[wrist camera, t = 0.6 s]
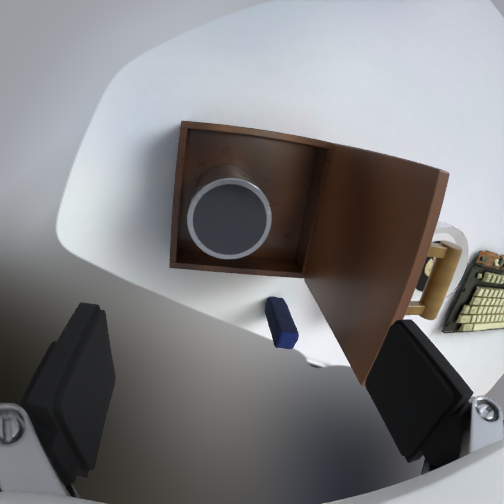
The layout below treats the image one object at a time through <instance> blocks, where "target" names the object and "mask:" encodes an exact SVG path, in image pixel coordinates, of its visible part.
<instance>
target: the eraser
mask: <svg viewBox="0 0 504 504" xmlns="http://www.w3.org/2000/svg"><path fill="white" fill-rule="evenodd" d="M265 314H266V317H267V321H268V325H269V327H270V331H271V334H272V338H273V342H274V345H275V347H276V348H285V349H292V348H293V347H294V345H295V343H296V342H297V340H298V337H299V334H298V331H297V328H296V326H295V324H294V321H293V319H292V317H291V314H290V311H289V309H288V306H287V304H286V302H285V301H284V299H282V298H277V297H270V298H269V299H268V300H267V302H266V307H265Z"/></svg>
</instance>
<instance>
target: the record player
mask: <svg viewBox="0 0 504 504" xmlns="http://www.w3.org/2000/svg"><path fill="white" fill-rule="evenodd" d="M442 240H445V241H449V242H452V243H454V244H457V245H458V246H460V247H461V248H462V249H463V251H462V254H461V257H460V260H459V262H458V265H457V268H456V271H455V273H454V276H453V279H452V281H451V284H450V286H449V289H448V291H447V294H446V296H445V298H446V297H447V296H448V295H449V294H450V293H451V292H452V291H453V290H454V289H455V288H456V286H457V285H458V283H459V282H460V280H461V278H462V276H463V274H464V272H465V269H466V266H467V261H468V253H469V249H468V242H467V239H466V237H465V235H464V233H463V232H462V231H461V230H460V229H458V228H457V227H455V226H453V225H451V224H448V223H437V225H436V229H435V232H434V236H433V239H432V243H438V244H440V242H441V241H442ZM434 260H435V257H426V260H425V263H424V266H423V269H422V272H421V275H420V277H419V280H418V283H417V286H416V288H415V291H414V293H413V296H412V298H411V301H419V300H420V298H421V295H422V293H423V290H424V288H425V285H426V282H427V280H428V277H429V274H430V272H431V269H432V266H433V263H434ZM445 298H444V299H445Z"/></svg>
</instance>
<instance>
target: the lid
mask: <svg viewBox="0 0 504 504" xmlns="http://www.w3.org/2000/svg"><path fill="white" fill-rule="evenodd" d="M448 178H449V173H448V172H446V171H444V170H441V169H438V168H434V167H431V166H428V165H424V164H421V163H417V162H413V161H410V160H406V159H402V158H398V157H394V156H390V155H386V154H382V153H378V152H374V151H369V150H365V149H360V148H355V147H351V146H346V145H341V144H335V143H334V144H333V148H332V153H331V159H330V164H329V170H328V175H327V180H326V185H325V190H324V195H323V200H322V205H321V209H320V214H319V219H318V223H317V228H316V233H315V237H314V241H313V246H312V250H311V255H310V259H309V263H308V267H307V271H306V276H305V280H304V281H305V283H306V284H307V286H308V288H309V290H310V292H311V293H312V295H313V297H314V299H315V301H316V302H317V304H318V306H319V308H320V310H321V312H322V313H323V315H324V317H325V319H326V321H327V323H328V324H329V326H330V328H331V330H332V332H333V334H334V335H335V337H336V339H337V341H338V343H339V345H340V347H341V348H342V350H343V352H344V354H345V356H346V358H347V360H348V362H349V363H350V365H351V367H352V369H353V371H354V373H355V375H356V377H357V379H358V381H359V383H360V384H361V386H365V381H366V378H367V376H368V374H369V372H370V370H371V368H372V366H373V363H374V361H375V359H376V357H377V355H378V353H379V351H380V349H381V346H382V344H383V342H384V340H385V337H386V335H387V333H388V330H389V328H390V326H391V325H392V324H394V322H395V321H396V320H403V318H404V315H419V316H421V317H423V318H425V319H428V320H434V319H435V318H436V317H437V314H438V312H439V310H440V308H441V305H442V303H443V301H444V298H445V296H446V294H447V291H448V289H449V286H450V284H451V281H452V279H453V276H454V273H455V271H456V268H457V265H458V262H459V260H460V257H461V254H462V251H463V249H462V248H461V247H460V246H458V245H457V244H454V243H452V242H449V241H445V240H442V241H441V242H440V244H438V243H432V239H433V236H434V232H435V229H436V225H437V222H438V218H439V215H440V211H441V207H442V203H443V200H444V196H445V191H446V187H447V183H448ZM426 257H435V260H434V263H433V266H432V269H431V272H430V274H429V277H428V280H427V282H426V285H425V288H424V290H423V293H422V295H421V298H420V300H419V301H411V298H412V296H413V293H414V291H415V288H416V286H417V283H418V280H419V277H420V275H421V272H422V269H423V266H424V263H425V260H426Z"/></svg>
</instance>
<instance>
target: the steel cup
mask: <svg viewBox="0 0 504 504" xmlns="http://www.w3.org/2000/svg"><path fill="white" fill-rule="evenodd" d="M187 224H188V229H189V233H190V235H191V237H192V239H193V241H194V242H195V243H196V245H197V246H198V247H199V248H200V249H201V250H203V251H204V252H205V253H207V254H209V255H211V256H213V257H217V258H220V259H237V258H241V257H244V256H247V255H249V254H251V253H252V252H254V251H255V250H257V249H258V248H259V247H260V246H261V245H262V244H263V243H264V241H265V240H266V238H267V236H268V234H269V232H270V229H271V225H272V211H271V207H270V204H269V202H268V200H267V198H266V196H265V195H264V193H263V192H262V191H261V189H260V188H259V187H258V185H257V184H256V182H255V181H254V180H253V178H252V177H251V176H250V175H249V174H248V173H247V172H246V171H245V170H244V169H242V168H240V167H238V166H235V165H230V164H222V165H217V166H214V167H212V168H210V169H208V170H207V171H205V172H204V173H203V174H202V175H201V176H200V178H199V179H198V181H197V183H196V186H195V189H194V192H193V196H192V199H191V203H190V206H189V210H188V215H187Z"/></svg>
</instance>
